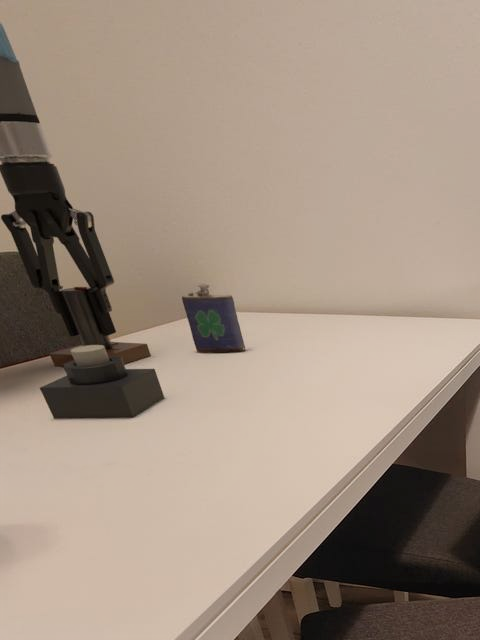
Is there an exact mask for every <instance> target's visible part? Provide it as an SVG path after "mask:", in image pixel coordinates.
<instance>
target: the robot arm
mask: <svg viewBox="0 0 480 640" xmlns="http://www.w3.org/2000/svg"><path fill="white" fill-rule="evenodd" d="M52 158H53V154H52V151H51V149H50V146H49V144H48V141H47V138H46V135H45V132H44V130H43V127H42V124H41V121H40V119H39V117H38V114H37V111H36V108H35V105H34V103H33V100H32V96H31V94H30V91H29V89H28V86H27V83H26V80H25V78H24V75H23V71H22V68H21V66H20V61H19V60H18V59H17V56H16V54H15V51H14V50H13V47H12V45H11V42H10V40H9V37H8V35H7V32H6V30H5V28H4V25H3V24H2V23H1V22H0V163H1V164H0V176H1V177H2V179H3V182H4V185H5V187H6V189H7V192H8V193H9V195H11V196H12V198H13V201H14V211H12V212H10V213H7V214H6V213H3V214H1V215H0V218H1V219H0V220H1V221H2V222H3V224H4V225H5V227H6V229H7V230H8V231H9V233H10V234H11V237H12V239H13V241H14V244H15V246H16V250H17V251H18V253H19V256H20V259H21V261H22V264H23V266H24V269H25V271H26V273H27V276H28V279H29V281H30V284H31V286H32V287H34V288H35V289H40V290H43V291H45V292H46V293H47V294H48V297H49V299H50V301H51V303H52V306H53V309H54V311H55V312H56V313H57V314H58V315H59V314H60V315H61V318H62V320H63V323H64V326H65V327H66V329H67V332H68V334H69V337H76V336H79V334H78V332H77V329H76V327H75V324H74V322H73V319H72V317H71V314H70V312H69V309H68V307H67V304H66V302H65V300H64V297H63V295H62V292H61V290H63V289H64V286H63V285H61V284H60V278H59V274H58V273H59V272H58V266H57V261H56V255H55V251H54V243H55V239H54V238H57V239H58V241H59V242H60V244H61V245H63V246H64V247H65V249H66V251H67V252H68V254H69V256H70V257H71V259H72V261H73V262H74V264H75V266H76V267H77V269H78V270H79V272H80V273H81V275H82V277H83V278H84V280H85V282H86V283H87V285H88V287H89V289H88V290H89V292H87V293H88V296H89V298H90V301H91V303H92V306H93V309H94V311H95V314H96V317H97V319H98V322H99V324H100V327H101V330H102V332H103V335H104V336H108V335H109V336H110V335H111V336H112V335H114V334H116V333H117V330H116V328H115V325H114V322H113V319H112V317H111V313H110V312H112V311H113V307H112V304H111V302H110V299H109V296H108V293H107V291H106V289H107V288H108V287H110V286H112V285H114V284H115V279H114V277H113V274H112V271H111V269H110V266H109V263H108V260H107V259H106V256H105V253H104V250H103V248H102V245H101V243H100V241H99V237H98V235H97V232H96V229H95V228H96V227H95V219H94V215H93V213H92V212H91V211H82V210H78V209H77V208H74V207H73V205H72V204H71V203H70V201H69V200H68V198H67V196H66V189H65V186H64V184H63V181H62V178H61V175H60V173H59V170H58V167H57V166H55V164H54V163H51V161H50V159H52ZM73 221H74V224H75V225H76V226H77V229H78V232H79V235H80V237H79V235H78V234H77V232H76V229H74V227H73ZM27 225H28V227H29V228H30V233H31V236H30V233H29V231H28V229H27V228H26V226H27ZM80 238H81V240H82V243H83V245H82V244H81V242H80ZM34 244H35V245H34ZM83 246H84V247H83Z"/></svg>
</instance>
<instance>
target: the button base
mask: <svg viewBox="0 0 480 640" xmlns="http://www.w3.org/2000/svg"><path fill="white" fill-rule="evenodd" d="M108 357H109V360H110V362H108V363H104V364H99V365H93V366H77V365H76V363H75V360H73V361H70V362H68V363H65V364H64V366H63V370H64V371H65V374H66V375H65V376H63V377H60V378H58V379H56V380H54V381H52V382H50V383H47V384H44V385H42V386H40V387H39V390H40V392H41V394H42V396H43V398H44V401H45V403H46V405H47V407H48V409H49V410H50V414H51V416H52V417H53V419H54V420H55V419H56V420H57V419H61V420H62V419H63V420H64V419H133V418H136V417H137V416H139V415H140V414H142V413H143V412H145V411H146V410H148V409H150V408H151V407H152V406H153V405H156V404H157V403H159V402H161V401H162V400H164V399H165V394H164V391H163V389H162V387H161V384H160V380H159V377H158V375H157V371H156V369H155V368H126V366H125V364H124V363H123V360H122V358H121V357H118V356H108Z"/></svg>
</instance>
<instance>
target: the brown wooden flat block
mask: <svg viewBox="0 0 480 640" xmlns="http://www.w3.org/2000/svg"><path fill="white" fill-rule="evenodd" d="M111 343H112V346H113V347H111V348H109V349H106V352H107V354H108V356H118V357H121V358H122V360H123V363H124V365H127V364H129V363H132V362H135V361H139V360H142V359H145V358H148V357H151V356H152V355H151V351H150V348H149V346H148V343H143V342H142V343H141V342H122V341H111ZM81 346H83V344H82V343H81V344H79V345H75V346H71V347H68V348H64V349H60V350H57V351H53V352H50V353H49V356H50V359H51V361H52V363H53V366H55V367H64V364H65V363H68V362H70V361H73V360H74V358H73V356H72V353H71V349H73V348H77V347H81Z"/></svg>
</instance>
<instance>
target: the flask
mask: <svg viewBox="0 0 480 640" xmlns="http://www.w3.org/2000/svg"><path fill="white" fill-rule="evenodd" d="M197 287H199V288H200V290H197V291H190V292H188V293H187V294H183V295H182V296H181V301H182V304H183V307H184V311H185V314H186V318H187V322H188V324H189V328H190V332H191V336H192V341H193V344H194V347H195V349H196V353H203V354H205V353H207V354H208V353H211V354H213V353H236V352H239V353H240V352H245V350H246V345H245V341H244V338H243V334H242V330H241V325H240V322H239V318H238V314H237V310H236V306H235V300H234V298H233V296H232V295H231V294H210V291H209V287H210V285H209V284H207V283H198V284H197Z"/></svg>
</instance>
